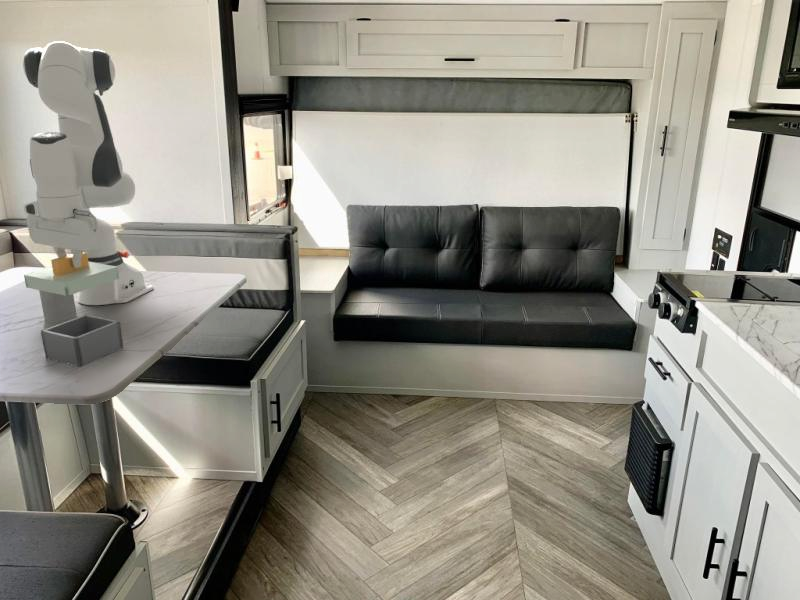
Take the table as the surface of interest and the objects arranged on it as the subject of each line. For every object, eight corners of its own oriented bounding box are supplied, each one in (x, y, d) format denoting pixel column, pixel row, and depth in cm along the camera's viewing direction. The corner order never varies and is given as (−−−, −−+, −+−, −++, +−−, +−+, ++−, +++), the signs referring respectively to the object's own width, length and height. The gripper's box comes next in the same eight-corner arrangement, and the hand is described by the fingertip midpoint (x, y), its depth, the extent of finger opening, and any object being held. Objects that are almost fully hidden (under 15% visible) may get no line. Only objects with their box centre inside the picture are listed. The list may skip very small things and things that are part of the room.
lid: (79, 271, 156) (75, 245, 154) (119, 278, 151) (115, 252, 149) (26, 287, 144) (20, 260, 141) (67, 295, 138) (62, 267, 136)
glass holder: (37, 329, 167) (27, 275, 162) (62, 311, 181) (53, 261, 176) (70, 329, 168) (61, 275, 163) (93, 311, 181) (85, 261, 176)
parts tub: (90, 340, 160) (85, 314, 158) (123, 347, 156) (119, 321, 154) (45, 358, 149) (40, 330, 147) (80, 366, 145) (75, 338, 143)
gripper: (106, 209, 140) (114, 268, 145) (43, 201, 148) (53, 257, 152) (82, 214, 134) (91, 275, 139) (18, 205, 142) (29, 263, 147)
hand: (71, 265), depth 146 cm, fingers closed on lid
